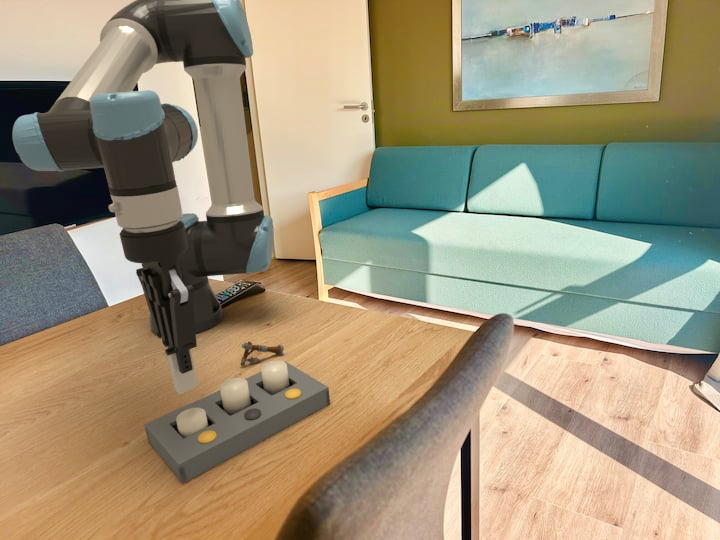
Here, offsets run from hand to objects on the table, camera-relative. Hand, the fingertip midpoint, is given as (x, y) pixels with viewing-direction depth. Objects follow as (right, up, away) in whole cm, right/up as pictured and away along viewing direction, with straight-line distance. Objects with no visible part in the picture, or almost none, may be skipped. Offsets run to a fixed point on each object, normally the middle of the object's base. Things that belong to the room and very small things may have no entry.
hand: (186, 388), depth 72 cm
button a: (+1, -8, +2) cm, 8 cm away
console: (+6, -6, +6) cm, 11 cm away
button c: (+11, -2, +10) cm, 15 cm away
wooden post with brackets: (+6, -1, +24) cm, 24 cm away
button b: (+6, -4, +6) cm, 9 cm away
